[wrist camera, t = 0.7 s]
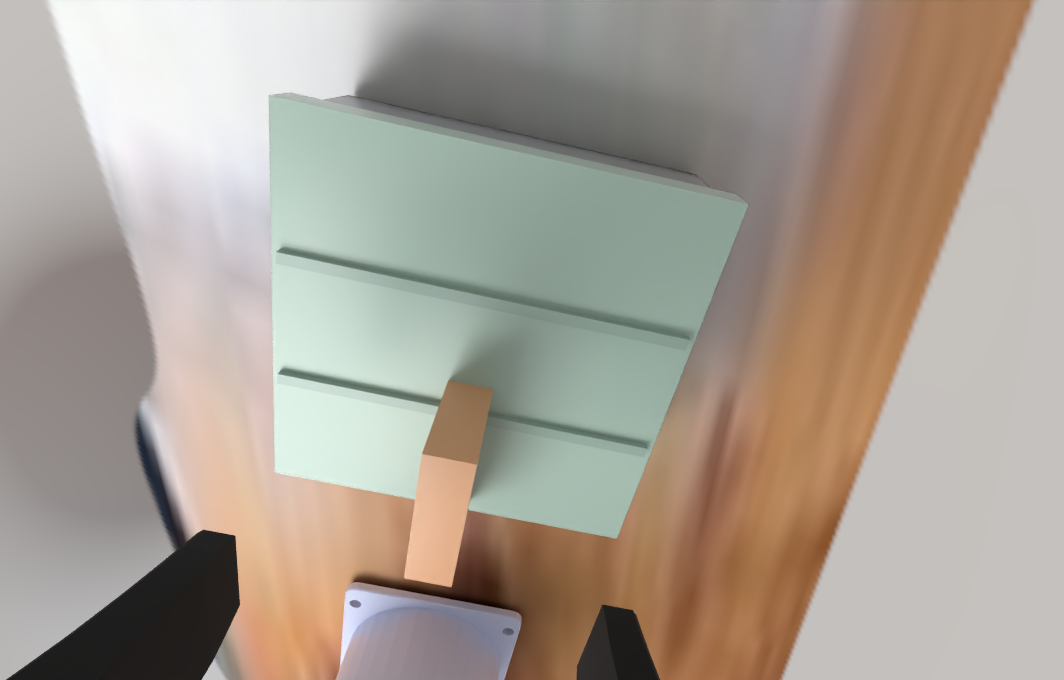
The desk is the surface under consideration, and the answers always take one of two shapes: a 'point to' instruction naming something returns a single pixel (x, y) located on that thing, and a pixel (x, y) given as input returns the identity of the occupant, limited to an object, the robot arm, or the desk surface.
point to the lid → (477, 319)
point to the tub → (518, 139)
